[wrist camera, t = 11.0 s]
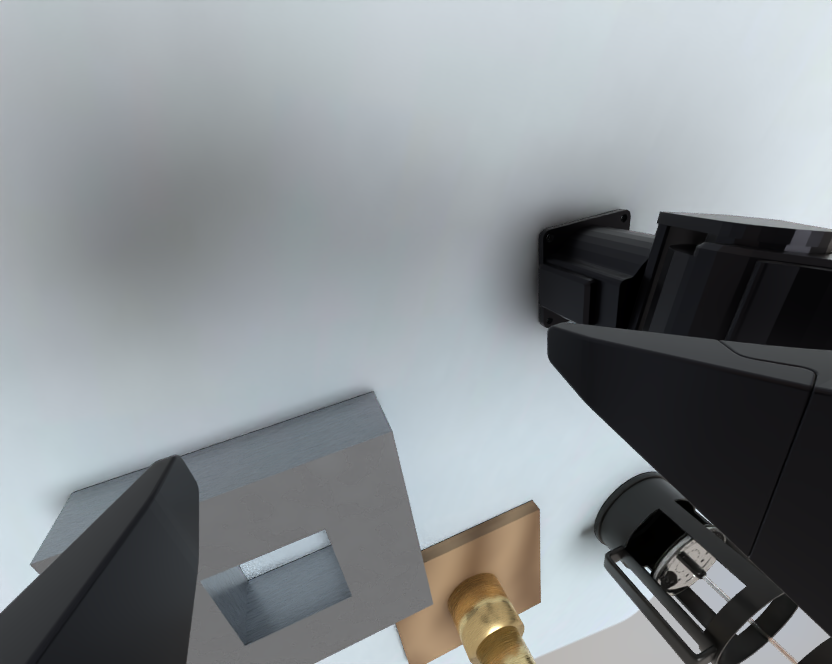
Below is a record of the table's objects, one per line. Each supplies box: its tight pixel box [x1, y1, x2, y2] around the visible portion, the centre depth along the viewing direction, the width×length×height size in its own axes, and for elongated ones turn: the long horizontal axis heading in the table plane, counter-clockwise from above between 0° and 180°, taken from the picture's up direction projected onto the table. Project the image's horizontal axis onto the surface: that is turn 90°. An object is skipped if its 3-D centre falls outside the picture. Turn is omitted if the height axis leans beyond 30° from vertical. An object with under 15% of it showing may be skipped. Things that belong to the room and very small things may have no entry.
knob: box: [447, 573, 536, 664], centre depth 30 cm, size 5×5×9 cm
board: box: [396, 500, 541, 664], centre depth 34 cm, size 14×14×1 cm
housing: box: [30, 392, 433, 664], centre depth 23 cm, size 16×16×4 cm
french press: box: [595, 472, 832, 664], centre depth 29 cm, size 12×9×23 cm
